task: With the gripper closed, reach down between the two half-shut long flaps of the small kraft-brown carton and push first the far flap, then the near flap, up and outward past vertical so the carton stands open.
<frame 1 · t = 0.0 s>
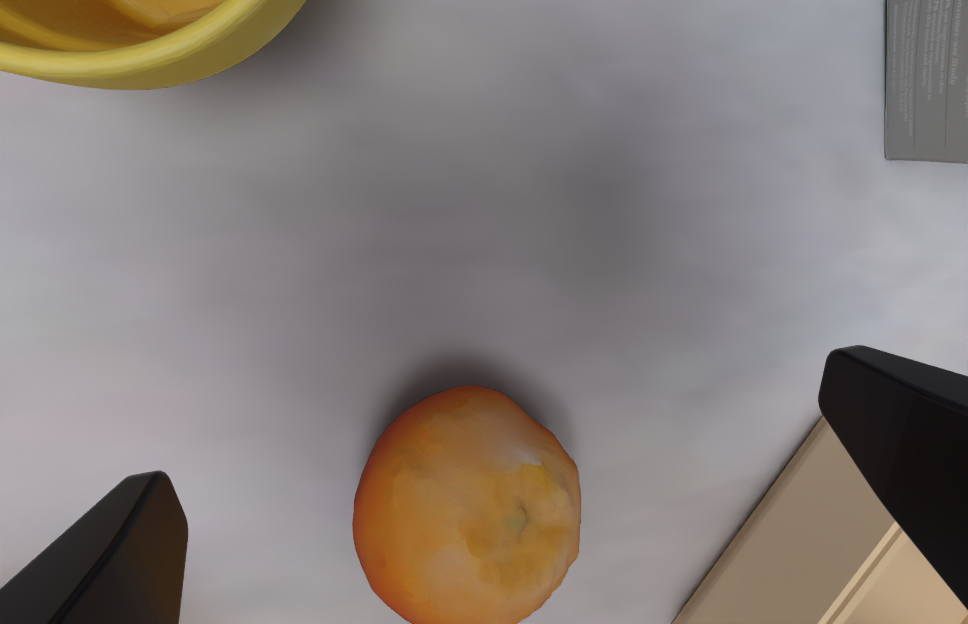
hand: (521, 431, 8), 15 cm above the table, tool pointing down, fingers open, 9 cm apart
skincare box: (963, 75, 25), on the table
carton: (853, 581, 30), on the table
fruit: (454, 462, 26), on the table
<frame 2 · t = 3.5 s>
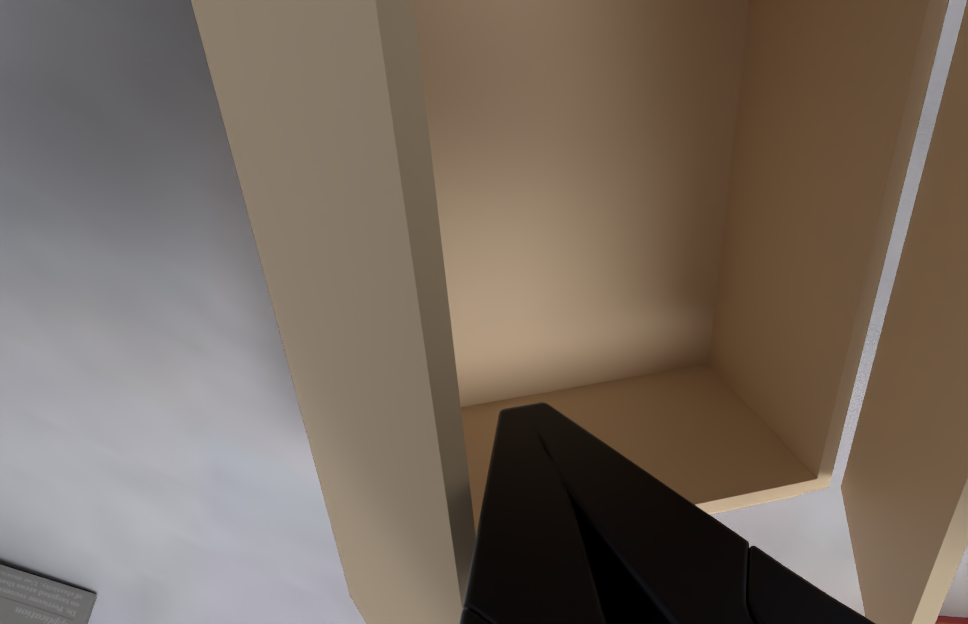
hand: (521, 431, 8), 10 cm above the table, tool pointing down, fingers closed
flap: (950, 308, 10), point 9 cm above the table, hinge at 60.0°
carton: (534, 189, 18), on the table
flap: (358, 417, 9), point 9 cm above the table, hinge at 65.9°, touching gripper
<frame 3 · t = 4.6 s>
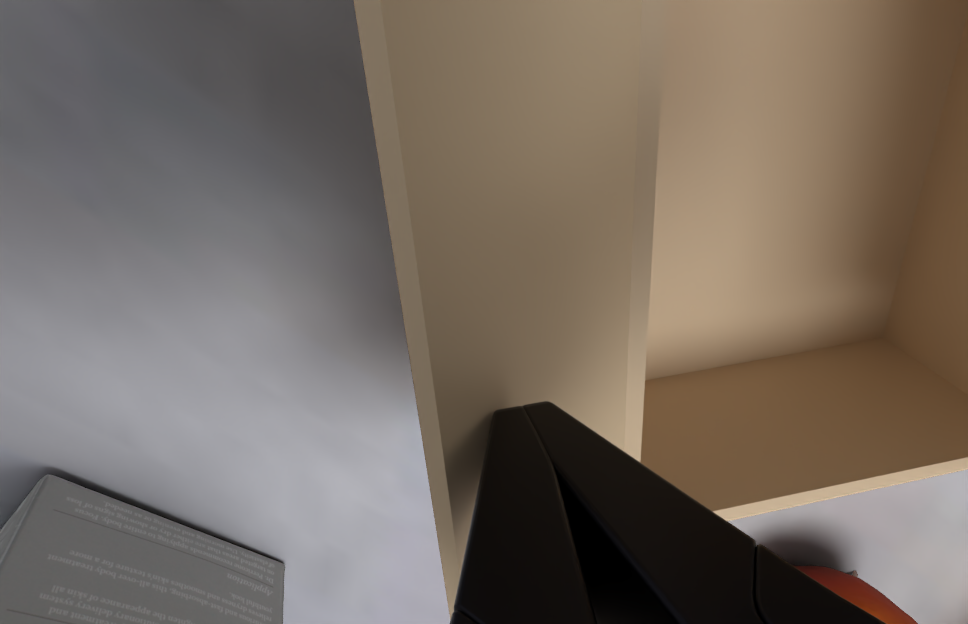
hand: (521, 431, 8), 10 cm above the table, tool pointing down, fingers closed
skincare box: (141, 568, 21), on the table
carton: (748, 164, 18), on the table
fruit: (771, 591, 28), on the table
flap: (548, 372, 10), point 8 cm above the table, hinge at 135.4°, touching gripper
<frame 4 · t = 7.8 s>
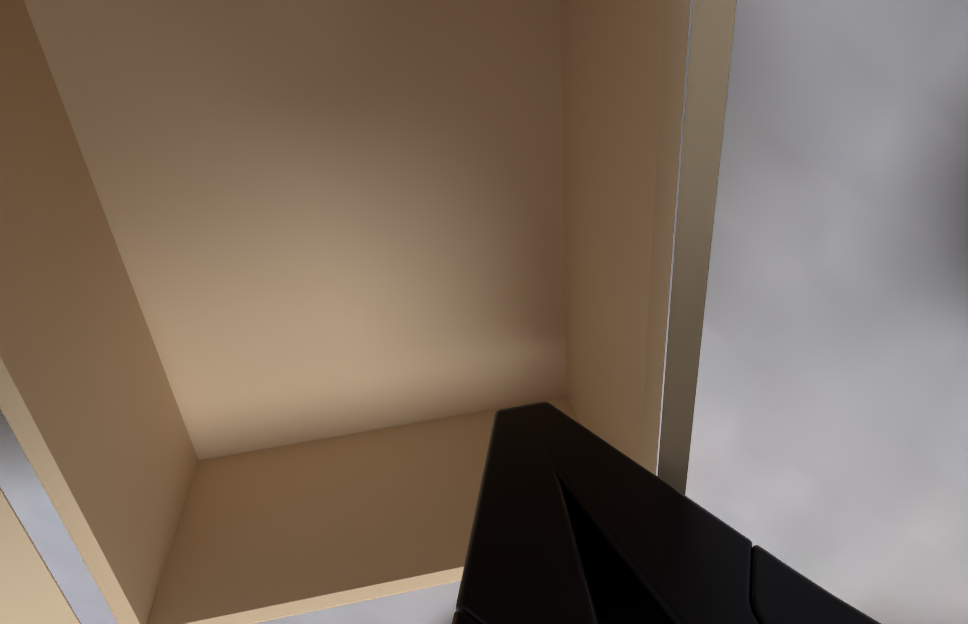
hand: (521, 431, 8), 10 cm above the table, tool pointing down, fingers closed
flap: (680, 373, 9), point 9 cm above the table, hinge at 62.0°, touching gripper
carton: (351, 217, 16), on the table
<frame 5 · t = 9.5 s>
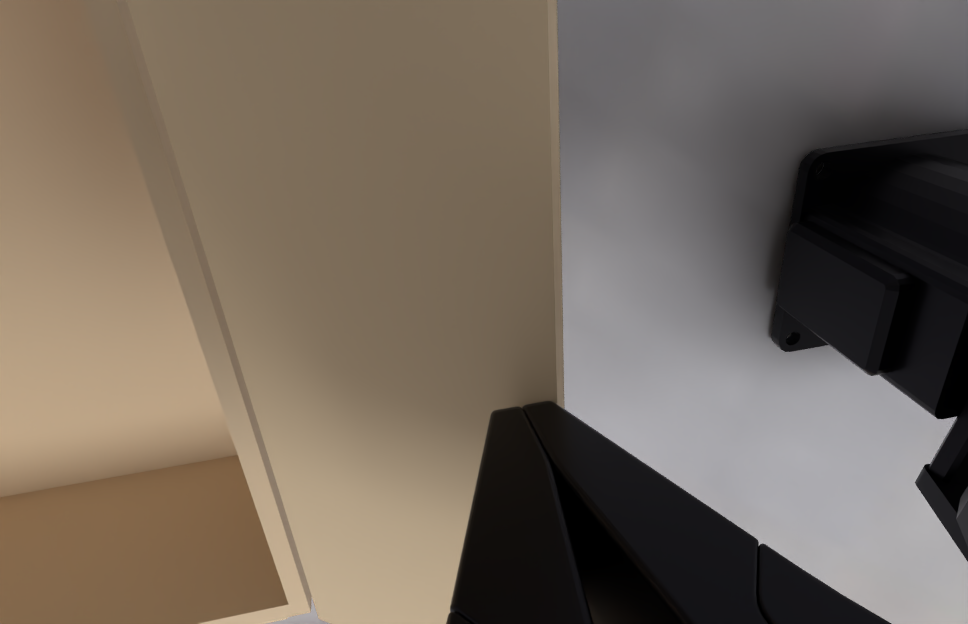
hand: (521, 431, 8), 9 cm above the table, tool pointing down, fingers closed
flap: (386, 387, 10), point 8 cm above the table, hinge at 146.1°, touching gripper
carton: (13, 263, 15), on the table
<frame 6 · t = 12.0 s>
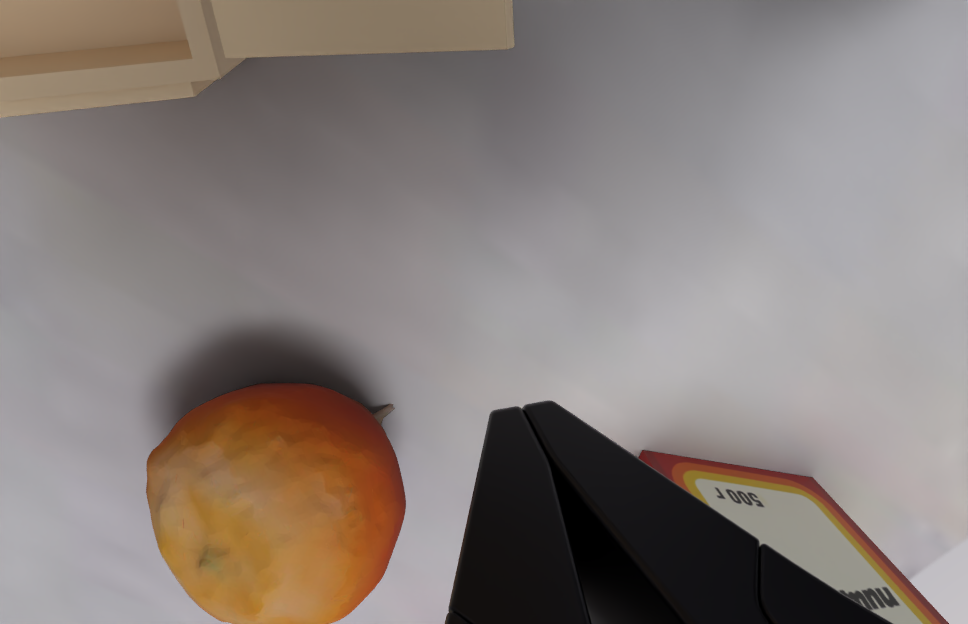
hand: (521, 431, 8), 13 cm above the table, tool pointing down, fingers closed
baking soda box: (697, 514, 30), on the table
fruit: (289, 429, 24), on the table
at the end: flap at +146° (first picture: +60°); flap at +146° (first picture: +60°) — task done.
